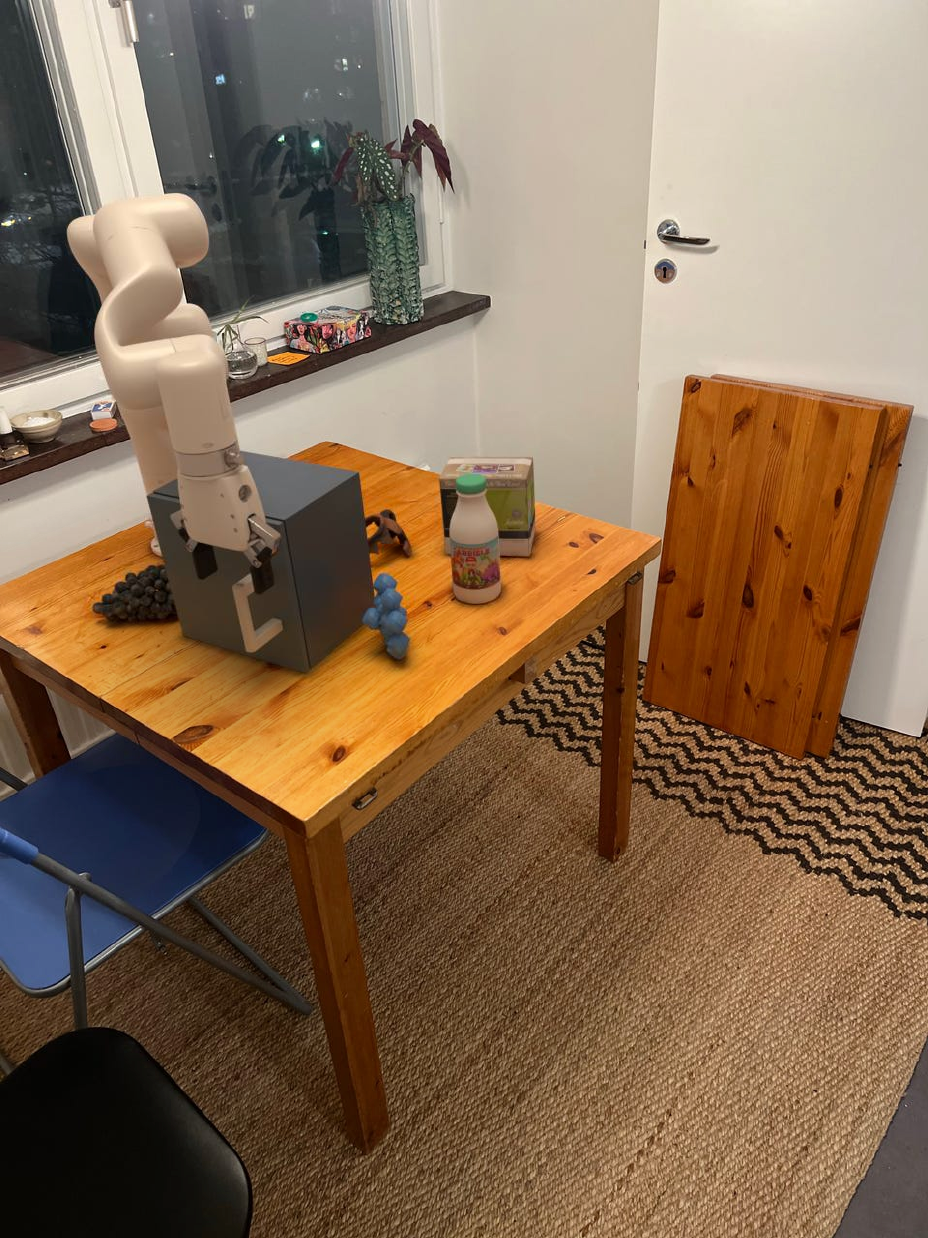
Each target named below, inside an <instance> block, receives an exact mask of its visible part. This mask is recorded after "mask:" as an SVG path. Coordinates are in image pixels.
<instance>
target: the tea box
mask: <svg viewBox="0 0 928 1238" xmlns="http://www.w3.org/2000/svg"><path fill="white" fill-rule="evenodd" d="M534 470H535V469H534V457H533V456H450V457H449V458H448V459H447V461H446V464H445V466H444V468H443V470H442V472H441V474H440V476H439V477H438V485H439V494H440V496H439V497H440V507H441V518H442V519H441V520H442V527H443V528H442V530H443V540H444V550H445V555H451V551H450V523H451V519H452V516H453V513H454V511H455V509H456V506H457V502H458V494H457V493H456V491H457V489H456V479H457V478H458V477H459V476H461V475H464V474H470V473H475V474H480V475H483V476H484V477H485V478H486V490H487V491H486V493H485V496H486V500H487V502H488V505H489V507H490V509H491V510H492V512H493V514H494V516H495V519H496V522H497V526H498V535H499V552H500V557H501V556H503V557H504V556H505V557H531V552H532V546H533V542H534V539H535V534H536V499H535V496H536V495H535V476H534V475H535V473H534V472H535V471H534Z"/></svg>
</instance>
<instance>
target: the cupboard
mask: <svg viewBox="0 0 928 1238" xmlns="http://www.w3.org/2000/svg"><path fill="white" fill-rule="evenodd" d="M240 453H241V454H243V455H244V458H245V461H244V463H243V465H245V466H247V467H248V469H249V471H250V473H251V475H252V477H253V480H254V482H255V485H256V488H257V491H258V494H259V497H260V500H261V504H262V508H263V512H264V515H265V518H267V519H272V520H277V521H281V522H284V528H285V533H286V539H287V545H288V550H289V556H290V561H291V567H292V572H293V578H294V584H295V589H296V595H297V600H298V606H299V611H300V617H301V623H302V628H303V634H304V639H305V645H306V651H307V656H308V662H309V667H310V670H313V669H314V668H315V667H316V666H317V665H318V664H320V663H321V662H322V661H323V660H324V659H326V658H327V657H328V656H329V655H330V654H331V653H332V652H334V651H335V650H336V649H337V648H339V646H341V645H342V644H343V643H344V642H345V641H346V640H348V638H350V637H351V636H352V635H353V634H354V633H356V632H357V631H358V630H359V629H360V628H361V627H362V626H364V625H365V624H364V623H363V622H362V620H363V617H364V615H365V613H366V611H367V610H368V609H369V608H375V607H376V605H375V604H374V598H375V596H376V594H375V589H374V588H373V584H374V578H373V571H372V570H373V569H372V562H371V556H370V555H371V553H370V554H369V546H368V538H369V537H368V531H367V528H366V522H365V518H366V515H365V507H364V500H363V492H362V483H361V475H360V471H356V470H352V469H351V470H350V469H345V468H339V467H335V466H329V465H322V464H317V463H312V462H306V461H300V460H295V459H291V458H283V457H278V456H273V455H267V454H261V453H256V452H250V451H245V450H240ZM153 494H158V495H162V496H167V497H172V498H176V499H179V491H178V479H175V480H173V481H171V482H169V483H167V484H165V485H163V486H162V487H160V488H158V489H156V490H154V491H153Z"/></svg>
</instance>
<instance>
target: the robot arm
mask: <svg viewBox="0 0 928 1238" xmlns="http://www.w3.org/2000/svg"><path fill="white" fill-rule="evenodd" d="M208 229H209V228H208V225H207V222H206V219H205V216H204V214H203V212H202V211H201V209H200V206H199V205H198V204H197V203H196V201H195V200H193V198H191V197H190V196H188V195H186V194H184V193H179V192H173V193H162V194H154V195H153V194H152V195H145V196H136V197H128V198H127V197H126V198H120V199H116V200H112V201H109V202H107V203H105V204H104V205H102V206H101V207H100V208H98V210H97V211H96V213H94V214H89V215H84V216H79V217H77V218H75V219H73V220H72V221H71V222H70V223H69V224H68V226H67V228H66V236H67V242H68V245H69V248H70V250H71V253H72V255H73V256H74V258H75V260H76V261H77V263H78V264H79V265H80V267H81V268H82V269H83V271H84V272H85V273H86V275H87V276H88V277H89V278H90V280H91V281H92V283H93V284H94V286H95V288H96V290H97V292H98V296H99V298H100V302H101V303H100V304H101V307H100V309H99V311H98V313H97V315H96V320H95V324H94V342H95V343H94V344H95V349H96V353H97V357H98V359H99V363H100V366H101V368H102V372H103V376H104V378H105V381H106V384H107V386H108V389H109V391H110V394H111V395H112V397H113V399H114V401H115V402H116V406H117V409H118V411H119V414H120V416H121V418H122V421H123V423H124V425H125V427H126V428H125V429H126V431H127V433H128V435H129V438H130V442H131V443H132V446H133V447H132V448H133V450H134V453H135V456H136V457H135V458H136V460H137V464H138V467H139V471H140V475H141V478H142V483H143V486H144V490H145V494H146V496H147V495H148V494H150V493H153V491H154V490H156V489H158V488H160V487H162V486H163V485H165V484H167V483H169V482H171V481H173V480H175V479H178V491H179V499H180V505H181V509H180V510H178V511H177V512H175V513H173V514H171V515H170V518H171V520H172V521H173V523H174V525H175V526H176V528H177V529H179V530H178V533H179V535H180V536H181V538H182V539H183V540H184V541H185V542H186V543H187V544H186V547H187V549H188V550H189V551H190V552H193V553H192V557H193V561H194V565H195V569H196V573H197V577H198V579H200V580H204V579H205V578H207V577H208V576H210V575H211V574H213V573H215V572H216V571H217V570H218V567H217V563H216V558H215V554H214V550H213V546H212V545H214V546H218V547H222V548H227V549H231V550H236V551H242V552H243V553H244V554H245V555H246V557H247V558H248V559H249V560H250V562H251V563H252V564H253V565H252V566H251V567H250V572H251V577H252V582H253V587H254V591H255V593H256V594H258V595H261V594H262V593H264V592H265V591H266V590H268V589H269V588H271V587H272V586H273V585H274V583H275V582H274V577H273V571H272V566H271V561H270V559H272V558H273V557H274V555H275V554H276V552H277V551H278V546H279V543H280V539H281V535H280V533H278V532H277V531H276V530H274V529H273V528H272V527H270V526H269V525H268V524H266V520H265V515H264V512H263V508H262V504H261V500H260V497H259V494H258V491H257V488H256V485H255V482H254V480H253V477H252V475H251V473H250V471H249V469H248V467H247V466H245V465H243V463H244V461H245V458H244V455H243V454H241V453H240V451H241V448H240V445H239V439H238V435H237V429H236V425H235V419H234V414H233V410H232V404H231V399H230V394H229V390H228V384H227V380H228V379H229V377H230V371H229V362H228V358H227V354H226V351H225V350H224V348H223V346H222V345H221V344H219V343H218V342H217V340H216V339H215V336H214V331H213V328H212V324H211V322H210V319H209V317H208V315H207V313H206V312H205V310H204V309H203V308H201V307H200V306H199V305H197V304H193V303H181V301H182V300H183V295H184V283H183V280H182V277H181V274H180V272H179V269H185V268H189V267H192V266H194V265H196V264H197V263H199V262H201V261H202V260H203V259H204V258H205V257H206V255H207V253H208V251H209V247H210V236H209V230H208ZM144 528H145V529H147V530H152V531H153V535H154V537H153V538H152V540H151V541H150V546H151V551H152V552H153V553H152V554H154V555H156V556H158V557H161V558H162V554H161V550H160V546H159V542H158V539H157V535H156V531H155V527H154V523H153V520H152V516H151V513H150V514H149V516H148V520H147V521H145V522H144ZM249 537H250V538H251V539H252V540H251V541H250V542H248V540H249ZM262 539H264V540H265V542H264V541H263V540H262ZM254 545H255V546H256V547H257V548H258V549H259V551H260V553H259V554H258V555H257V554H256V553H255V552H254V550H253V549H252V548H251V547H253V546H254Z"/></svg>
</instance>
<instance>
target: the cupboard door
mask: <svg viewBox="0 0 928 1238" xmlns="http://www.w3.org/2000/svg"><path fill="white" fill-rule="evenodd" d="M145 497H146V501H147V505H148V508H149V512H150V514H151V516H152V520H153V523H154V527H155V531H156V535H157V539H158V542H159V546H160V550H161V554H162V557H161V558H162V562H163V565H164V566H165V569H166V573H167V577H168V580H169V584H170V588H171V592H172V596H173V599H174V603H175V607H176V611H177V614H176V615H177V618H178V622H179V626H180V629H181V633H182V636H183V637H185V638H189V639H191V640H196V641H198V642H202V643H205V644H208V645H212V646H215V647H218V648H221V649H224V650H228V651H231V652H234V653H238V654H241V655H243V656H246V657H250V658H254V659H257V660H260V661H263V662H266V663H270V664H272V665H276V666H280V667H283V668H285V669H289V670H293V671H295V672H299V673H303V674H305V675H306V674H308V672H310V671H311V669H310V667H309V662H308V656H307V651H306V645H305V639H304V634H303V628H302V623H301V617H300V611H299V606H298V600H297V595H296V589H295V584H294V578H293V572H292V567H291V561H290V556H289V550H288V545H287V539H286V533H285V528H284V522H281V521H277V520H272V519H267V518H265V520H266V524H268V525H269V526H270V527H272V528H273V529H274V530H276V531H277V532H278V533H280V535H281V539H280V543H279V546H278V551H277V552H276V554H275V555H274V557H273V558H272V559H270V561H271V566H272V571H273V577H274V582H275V583H274V585H273V586H272V587H271V588H269V589H268V590H266V591H265V592H264V593H262V594H261V595H258V594H256V593H255V591H254V587H253V582H252V577H251V572H250V567H251V566H252V565H253V564H252V563H251V562H250V560H249V559H248V558H247V557H246V555H245V554H244V553H243V552H242V551H236V550H231V549H227V548H222V547H218V546H214V545H212V546H213V550H214V554H215V558H216V563H217V567H218V570H217V571H216V572H215V573H213V574H211V575H210V576H208V577H207V578H205V579H204V580H200V579H198V577H197V573H196V569H195V565H194V561H193V557H192V553H193V552H190V551H189V550H188V549H187V547H186V544H187V543H186V542H185V541H184V540H183V539H182V538H181V536H180V535H179V533H178V530H179V529H177V528H176V526H175V525H174V523H173V521H172V520H171V518H170V515H171V514H173V513H175V512H177V511H178V510H180V509H181V505H180V499H176V498H172V497H167V496H162V495H158V494H153V493H150V494H148V495H147V494H146V496H145ZM251 540H252V539H251V538H250V537H249V540H248V542H250V541H251ZM262 540H263V541H264V542H265V540H264V539H262ZM251 548H252V549H253V550H254V552H255V553H256V554H257V555H258V554H259V553H260V551H259V549H258V548H257V547H256V546H255V545H254V546H253V547H251Z"/></svg>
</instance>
